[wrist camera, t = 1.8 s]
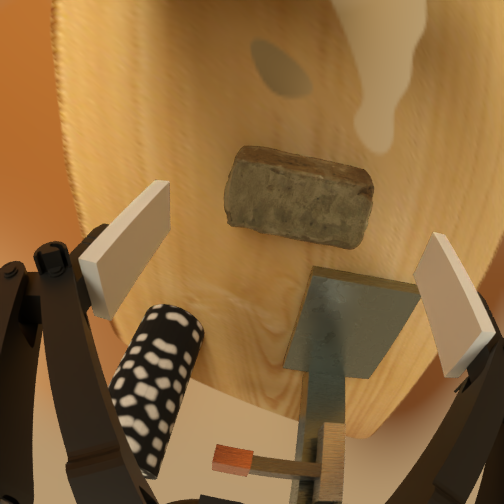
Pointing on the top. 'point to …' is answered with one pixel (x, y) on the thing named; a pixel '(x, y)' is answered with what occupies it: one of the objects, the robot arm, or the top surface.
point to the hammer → (295, 464)
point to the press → (340, 348)
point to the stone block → (298, 197)
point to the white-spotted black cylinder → (155, 381)
